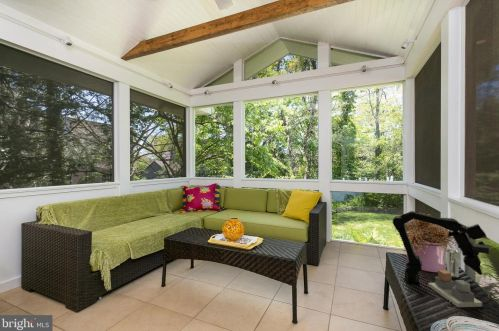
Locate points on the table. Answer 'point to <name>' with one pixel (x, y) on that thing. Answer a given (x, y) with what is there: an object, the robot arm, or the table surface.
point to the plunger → (462, 286)
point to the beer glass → (453, 262)
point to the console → (454, 294)
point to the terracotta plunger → (444, 275)
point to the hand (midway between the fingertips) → (480, 270)
